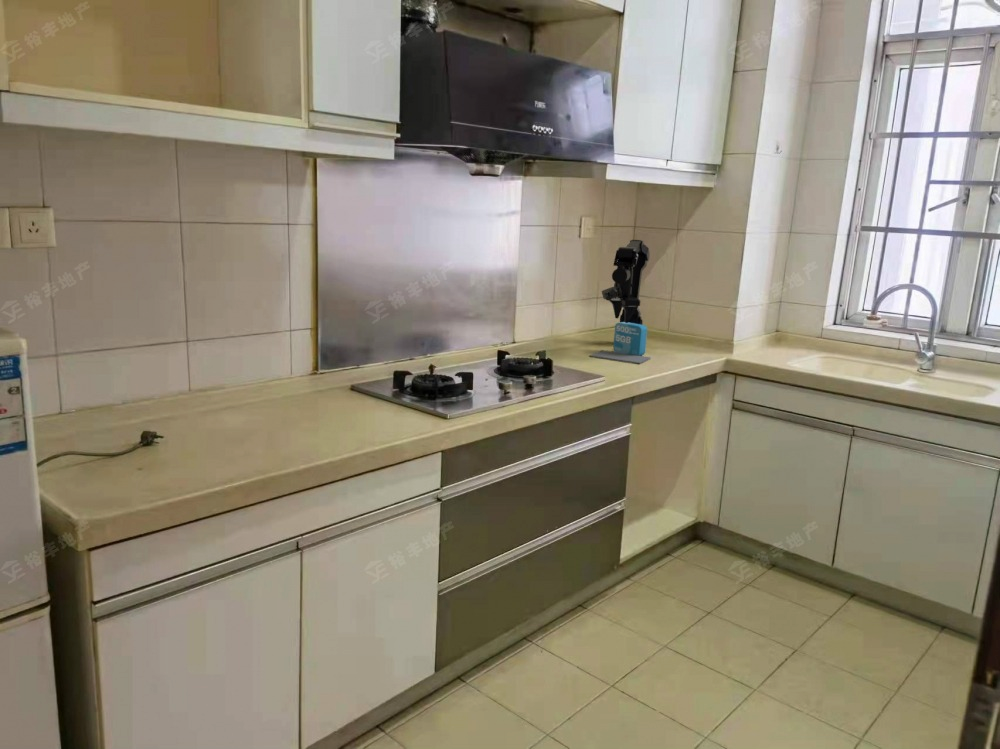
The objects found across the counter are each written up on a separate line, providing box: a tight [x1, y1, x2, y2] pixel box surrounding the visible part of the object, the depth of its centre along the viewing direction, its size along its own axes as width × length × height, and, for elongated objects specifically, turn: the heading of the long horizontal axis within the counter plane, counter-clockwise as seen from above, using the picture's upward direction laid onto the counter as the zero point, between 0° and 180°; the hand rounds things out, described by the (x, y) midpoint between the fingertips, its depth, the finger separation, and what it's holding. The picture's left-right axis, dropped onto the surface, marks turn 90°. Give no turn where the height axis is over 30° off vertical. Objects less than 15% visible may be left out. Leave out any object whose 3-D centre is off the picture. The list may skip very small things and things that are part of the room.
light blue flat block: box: [612, 321, 648, 356], centre depth 292 cm, size 12×4×12 cm, turn 48°
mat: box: [589, 349, 651, 365], centre depth 285 cm, size 12×20×1 cm, turn 60°
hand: (621, 320), depth 292 cm, fingers open, 9 cm apart
